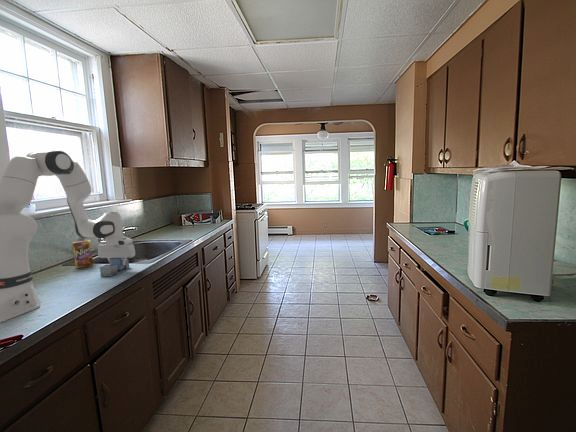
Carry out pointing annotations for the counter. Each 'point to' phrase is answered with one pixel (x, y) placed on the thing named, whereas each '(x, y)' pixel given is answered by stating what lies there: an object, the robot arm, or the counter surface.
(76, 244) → the candy box
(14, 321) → the counter surface
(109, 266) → the sliding jaw
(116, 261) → the blue block
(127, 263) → the block
